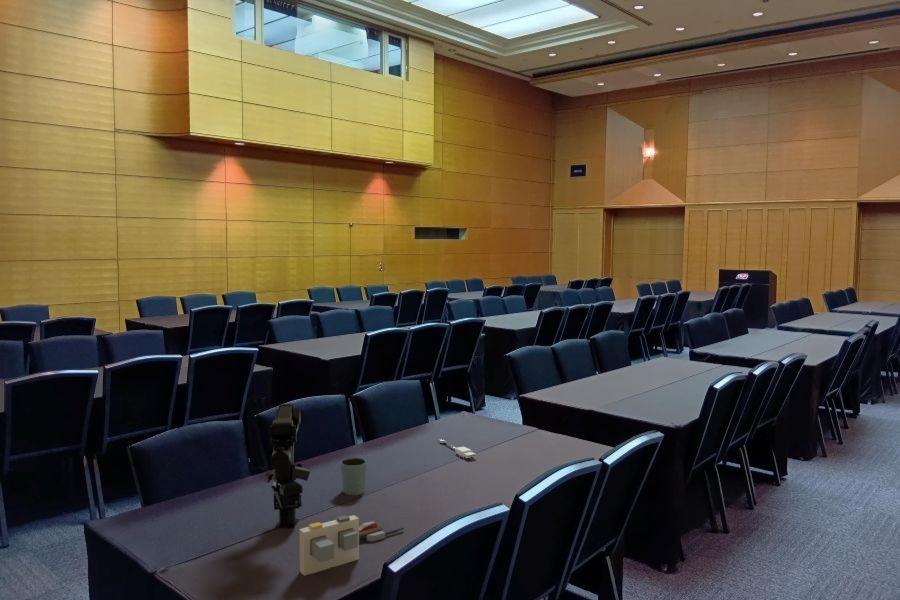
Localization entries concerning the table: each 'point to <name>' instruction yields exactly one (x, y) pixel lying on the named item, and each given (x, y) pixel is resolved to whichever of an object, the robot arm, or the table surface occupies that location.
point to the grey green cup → (353, 475)
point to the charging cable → (463, 451)
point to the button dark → (347, 539)
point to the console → (331, 532)
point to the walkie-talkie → (373, 532)
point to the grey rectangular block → (322, 548)
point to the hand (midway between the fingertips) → (283, 508)
